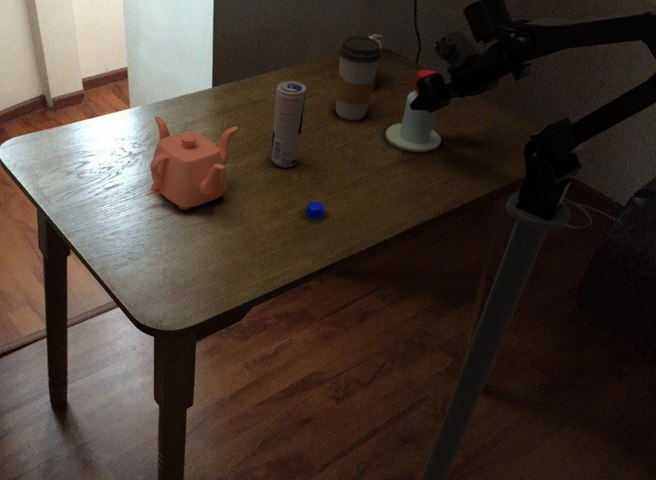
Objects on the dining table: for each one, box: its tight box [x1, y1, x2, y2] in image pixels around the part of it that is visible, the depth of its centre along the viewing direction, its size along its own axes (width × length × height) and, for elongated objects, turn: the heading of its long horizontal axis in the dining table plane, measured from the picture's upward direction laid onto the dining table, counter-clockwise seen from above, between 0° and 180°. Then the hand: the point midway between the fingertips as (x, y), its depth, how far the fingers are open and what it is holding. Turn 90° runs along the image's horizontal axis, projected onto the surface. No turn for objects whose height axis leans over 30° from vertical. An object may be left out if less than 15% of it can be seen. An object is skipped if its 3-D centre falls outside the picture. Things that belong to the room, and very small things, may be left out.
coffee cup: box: [335, 35, 382, 121], centre depth 143 cm, size 8×8×15 cm
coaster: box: [385, 122, 442, 153], centre depth 142 cm, size 11×11×1 cm
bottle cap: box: [305, 201, 325, 220], centre depth 119 cm, size 3×3×2 cm
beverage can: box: [270, 80, 307, 169], centre depth 127 cm, size 5×5×15 cm
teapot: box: [149, 115, 238, 211], centre depth 118 cm, size 14×14×11 cm
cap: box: [414, 69, 436, 93], centre depth 134 cm, size 4×4×3 cm
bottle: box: [400, 90, 437, 144], centre depth 137 cm, size 6×6×12 cm
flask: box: [367, 33, 383, 90], centre depth 158 cm, size 9×3×11 cm, turn 177°
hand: (426, 101), depth 136 cm, fingers open, 9 cm apart
